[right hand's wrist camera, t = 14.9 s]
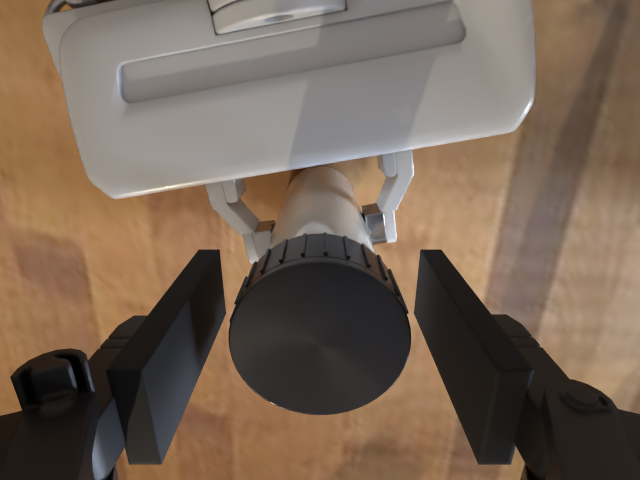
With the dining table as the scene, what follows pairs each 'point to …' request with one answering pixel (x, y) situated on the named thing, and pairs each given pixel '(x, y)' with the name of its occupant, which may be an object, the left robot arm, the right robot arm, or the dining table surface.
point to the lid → (319, 326)
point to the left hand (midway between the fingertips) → (323, 249)
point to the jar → (320, 208)
